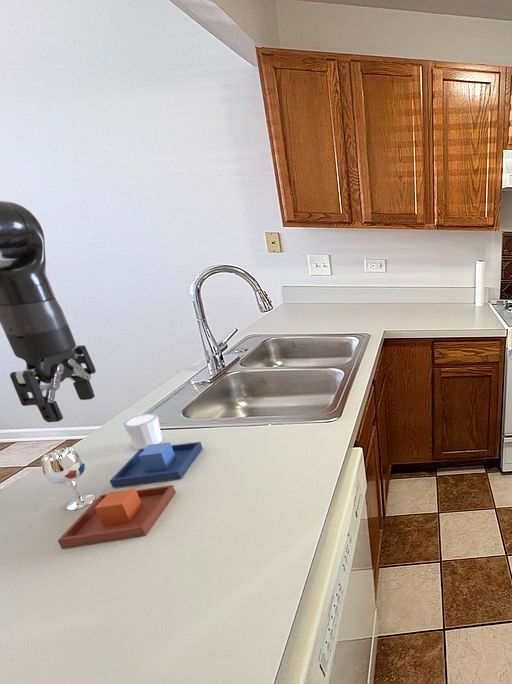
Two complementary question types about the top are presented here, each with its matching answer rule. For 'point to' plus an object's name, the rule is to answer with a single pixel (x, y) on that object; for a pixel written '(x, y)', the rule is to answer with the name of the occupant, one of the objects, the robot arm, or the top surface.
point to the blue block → (157, 457)
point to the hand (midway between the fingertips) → (72, 409)
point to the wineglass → (66, 473)
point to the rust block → (119, 507)
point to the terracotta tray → (93, 531)
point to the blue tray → (136, 475)
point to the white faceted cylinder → (143, 430)
